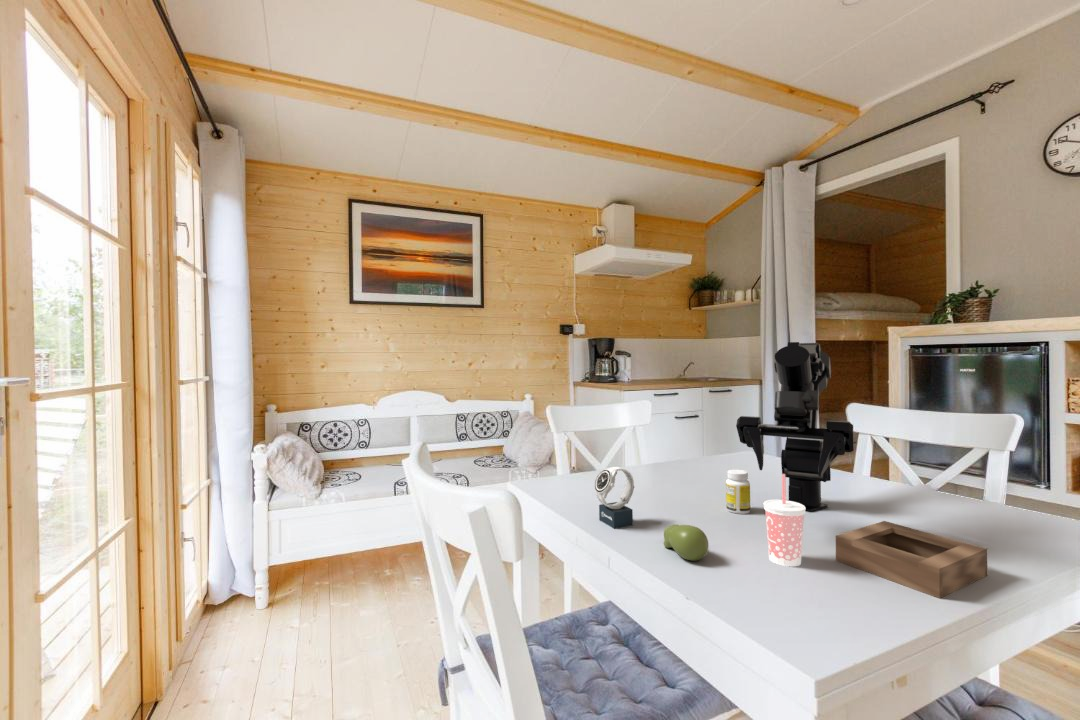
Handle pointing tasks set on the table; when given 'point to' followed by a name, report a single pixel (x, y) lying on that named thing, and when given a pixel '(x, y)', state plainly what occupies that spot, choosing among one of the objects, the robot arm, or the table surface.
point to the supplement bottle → (738, 492)
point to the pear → (686, 541)
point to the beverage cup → (784, 529)
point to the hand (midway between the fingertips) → (789, 472)
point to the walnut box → (912, 557)
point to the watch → (616, 511)
